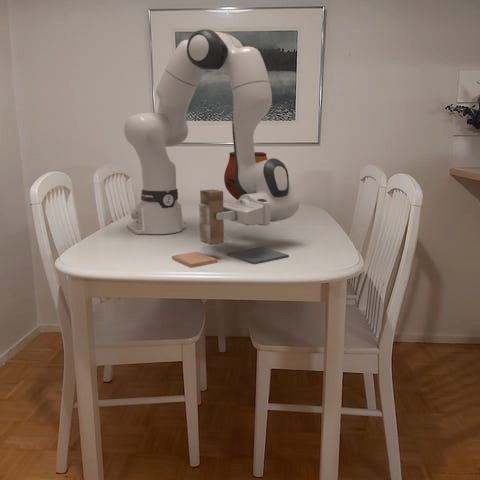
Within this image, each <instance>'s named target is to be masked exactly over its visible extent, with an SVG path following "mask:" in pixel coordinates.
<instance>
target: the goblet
mask: <svg viewBox="0 0 480 480" xmlns="http://www.w3.org/2000/svg"><path fill="white" fill-rule="evenodd" d="M254 153H255V162H256V163H259V162H261V161H265V160H268V156H267V153H266V152H261V151H257V152H256V151H254ZM235 168H236V164H235V153H234V151H230V152H229V157H228V162H227V165H226V168H225V170H224V175H223V176H224V177H223V182H224V186H225V189H226V190H227V191H228V193H229V195H231V196H232V197H233V198H234V199H235V200H236V201H238V200H239V198H240V197H241V196H242V195H241V194H240V193H239V192H238V191H237V189H236V186H235V182H234V176H235Z"/></svg>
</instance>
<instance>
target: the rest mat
mask: <svg viewBox="0 0 480 480" xmlns="http://www.w3.org/2000/svg"><path fill="white" fill-rule="evenodd" d="M227 256H231V257H234V258H236V259H239V260H241V261H244V262H247V263H250V264H252V265H257V264H261V263H266V262H271V261H272V262H273V261H275V260H276V261H277V260H280V259H286V258H289V257H290V255H289V254H288V253H284V252H280V251H278V250H275V249H271V248H269V247H265V246H262V245H261V246H256V247H251V248H245V249H240V250H236V251H228V252H227Z"/></svg>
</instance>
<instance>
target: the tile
mask: <svg viewBox="0 0 480 480" xmlns="http://www.w3.org/2000/svg"><path fill="white" fill-rule="evenodd" d="M171 259H173V260H172V261H174V260H175V262H177V263H179V264H181V265H183V266H186V267H188V268H191V269H192V268H196V267H197V268H198V267H203V266H208V265H213V264H218V259H217V258H215V257H212V256H210V255H208V254H205V253H202V252H199V251H193V252H187V253H181V254H176V255H175V254H174V255H171Z"/></svg>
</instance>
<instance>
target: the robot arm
mask: <svg viewBox="0 0 480 480" xmlns="http://www.w3.org/2000/svg"><path fill="white" fill-rule="evenodd" d="M207 71H209V72H212V73H224V74H227V76H228V78H229V82H230V86H231V87H230V89H231V92H232V101H233V116H232V122H231V126H232V129H231V130H232V140H233V152H234V153H235V164H236V168H235V176H234V182H235V186H236V189H237V191H238V192H239V193H240V194H241V195H242V196H241V197H240V198H239V200H236V201H234V200H233V201H232V200H224V199H223V212H216V213H215V214H214V216H215V217H214V218H215V219H217V220H225V221H226V220H227V221H231V222H233V223H234V222H235V223H238V224H242V225H244V226H257V225H258V226H263V227H264V226H270V224H271V223H274V222H280V221H284V220H287V219H289V218H292V217H293V216H294V215H296V213H297V212H298V210H299V207H300V197H299V195H298V194H297V193H296V191H295V190H294V189H293V187H292V186H291V182H290V179H289V176H290V175H289V171H288V168H287V166H286V165H285V164H284V162H283V161H281V160H280V159H278V158H275V157H274V158H269V159H268V158H267V159H268V160H265V161H261V162H259V163H256V162H255V153H254V152H255V146H254V145H255V144H254V134H255V132H256V129H257V126H258V125H259V124H260V122H261V121H262V119H264V117H265V116H266V115H267V114H268V113H269V111H270V109H271V107H272V104H273V103H272V102H273V93H272V88H271V87H272V86H271V84H270V78H269V77H270V76H269V74H268V70H267V67H266V64H265V61H264V58H263V56H262V54H261V52H260V50H258V48H256V47H252V46H248V45H246V44H245V42H243V40H241V39H240V38H238V37H237V36H233V35H231V34H229V33H226V32H223V31H216V30H215V31H214V30H211V29H199V30H196V31H194V32H193V33H192V34H191V35H190V36H189V38H188V39H184V40H182V41H180V43H179V44H178V45H177V47H175V49H174V51H173V53H172V54H171V56H170V58H169V60H168V62H167V63H166V66H165V68H164V71H163V73H162V75H161V77H160V80H159V82H158V84H157V87H156V96H157V98H158V100H159V102H158V108H157V110H156V111H155V112H139V113H137V114H133V115H130V116H129V117H128V118H127V119H126V121H125V123H124V125H123V127H124V128H123V132H124V137H125V139H126V141H127V142H128V143H129V144H130V145H131V146H132V147H133V149H134V151H135V152H136V154H137V157H138V160H139V162H140V167H141V177H142V190H141V192H140V196H141V197H140V202H139V203H138V204H137V206H136V207H135V208H134V210H133V211H132V212H131V216H130V217H131V219H132V220H133V221H132V222H129V223H126V227H127V228H129V229H130V231H132V232H133V233H134V234H135V235H142V234H143V235H145V234H147V235H166V234H167V235H168V234H169V235H170V234H176V233H179V232H181V231H183V229H185V228H187V225H186V224H185V223H184V220H183V210H182V204H181V203H180V202H178V200H179V191H178V188H177V173H176V172H177V170H176V169H177V168H176V165H175V163H174V162H173V161H171V159H170V157H169V156H168V153H167V152H168V151H167V148H168V147H174V146H177V145H179V144H181V143H184V141H185V140H186V139H187V138H188V135H189V125H188V123H187V114H188V110H189V106H190V103H191V101H192V99H193V97H194V94H195V92H196V90H197V88H198V86H199V83H200V81H201V79H202V77H203V75H204V74H205V72H207ZM166 147H167V148H166ZM270 222H271V223H270Z"/></svg>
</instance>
